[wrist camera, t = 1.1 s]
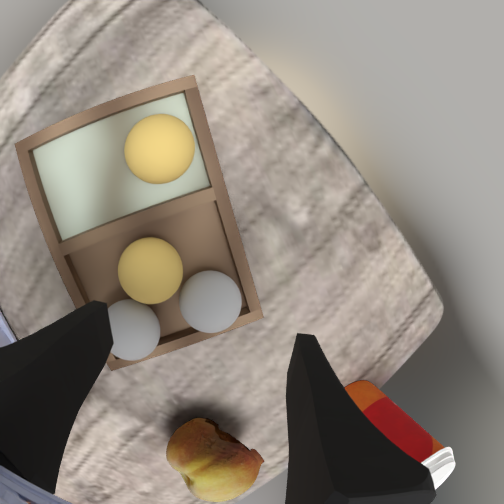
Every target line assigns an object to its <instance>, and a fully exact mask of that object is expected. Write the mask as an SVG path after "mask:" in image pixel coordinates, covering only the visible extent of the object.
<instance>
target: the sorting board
mask: <svg viewBox="0 0 504 504" xmlns="http://www.w3.org/2000/svg"><path fill="white" fill-rule="evenodd" d="M154 114H168V115H172V116H175V117H177V118H179V119H180V120H182V121H183V122H184V123H185V124H186V125H187V126H188V127H189V129H190V130H191V132H192V135H193V137H194V141H195V153H194V158H193V161H192V163H191V165H190V166H189V168H188V169H187V171H186V172H185V173H184V174H183V175H182V176H180V177H179V178H177V179H176V180H174V181H171V182H169V183H165V184H151V183H147V182H145V181H143V180H141V179H139V178H138V177H136V176H135V175H134V174H133V173H132V171H131V170H130V169H129V167H128V165H127V163H126V159H125V154H124V147H125V142H126V138H127V136H128V134H129V132H130V130H131V129H132V128H133V127H134V125H135V124H137V123H138V122H139V121H140V120H142V119H144V118H145V117H148V116H150V115H154ZM15 148H16V151H17V155H18V159H19V163H20V166H21V170H22V173H23V177H24V180H25V183H26V187H27V190H28V193H29V196H30V199H31V202H32V205H33V208H34V211H35V214H36V216H37V219H38V222H39V225H40V227H41V230H42V233H43V235H44V238H45V240H46V243H47V245H48V248H49V250H50V253H51V255H52V257H53V260H54V262H55V264H56V267H57V269H58V271H59V273H60V276H61V278H62V280H63V282H64V284H65V286H66V289H67V291H68V293H69V295H70V297H71V299H72V301H73V303H74V305H75V307H76V309H78V308H80V307H81V306H83V305H85V304H87V303H89V302H91V301H93V300H96V301H100V302H105V303H107V308H109V307H110V306H111V305H112V304H114V303H116V302H118V301H121V300H125V299H132V300H134V299H133V298H131V297H130V296H129V295H128V294H127V293H126V292H125V291H124V289H123V288H122V286H121V284H120V281H119V277H118V264H119V260H120V257H121V255H122V253H123V252H124V250H125V249H126V248H127V247H128V246H129V245H130V244H131V243H133V242H134V241H136V240H139V239H142V238H147V237H153V238H159V239H162V240H164V241H166V242H168V243H169V244H170V245H172V246H173V247H174V248H175V250H176V251H177V252H178V254H179V256H180V258H181V261H182V265H183V278H182V281H181V284H180V286H179V288H178V290H177V291H176V292H175V293H174V294H173V295H172V296H171V297H170V298H169V299H167V300H166V301H163V302H161V303H157V304H146V305H147V306H149V307H150V308H151V309H152V310H153V311H154V313H155V314H156V316H157V318H158V321H159V324H160V338H159V342H158V344H157V346H156V348H155V349H154V350H153V352H152V353H151V354H149V355H148V356H146V357H145V358H142V359H139V360H132V361H130V360H124V359H121V358H119V357H117V356H115V355H114V354H112V353H111V352H110V354H109V356H108V359H107V361H106V363H107V365H108V366H109V368H110V370H111V371H113V370H116V369H119V368H122V367H126V366H129V365H132V364H135V363H138V362H141V361H144V360H147V359H150V358H153V357H156V356H159V355H162V354H165V353H168V352H171V351H174V350H177V349H180V348H183V347H186V346H189V345H191V344H194V343H197V342H200V341H203V340H206V339H208V338H211V337H214V336H217V335H219V334H222V333H225V332H227V331H230V330H233V329H235V328H238V327H241V326H243V325H246V324H248V323H251V322H254V321H256V320H259V319H261V318H264V317H263V313H262V310H261V306H260V303H259V300H258V296H257V293H256V289H255V286H254V282H253V279H252V276H251V272H250V269H249V265H248V262H247V258H246V255H245V252H244V248H243V245H242V241H241V238H240V234H239V231H238V227H237V224H236V220H235V217H234V213H233V210H232V207H231V203H230V200H229V196H228V193H227V189H226V186H225V182H224V179H223V175H222V172H221V168H220V165H219V161H218V158H217V154H216V151H215V147H214V143H213V140H212V136H211V133H210V129H209V126H208V122H207V119H206V115H205V112H204V108H203V105H202V101H201V97H200V94H199V90H198V87H197V83H196V80H195V76H194V75H191V76H188V77H184V78H180V79H176V80H173V81H169V82H166V83H162V84H159V85H156V86H152V87H149V88H146V89H143V90H140V91H137V92H134V93H131V94H128V95H125V96H122V97H119V98H116V99H114V100H111V101H108V102H106V103H103V104H100V105H98V106H95V107H93V108H90V109H88V110H85V111H83V112H81V113H78V114H76V115H73V116H71V117H69V118H67V119H64V120H62V121H60V122H58V123H56V124H53V125H51V126H49V127H47V128H45V129H43V130H41V131H39V132H37V133H35V134H33V135H31V136H29V137H27V138H25V139H23V140H21V141H19V142H17V143H16V144H15ZM210 270H211V271H218V272H221V273H223V274H225V275H227V276H229V277H230V278H231V279H232V280H233V281H234V282H235V283H236V285H237V286H238V288H239V291H240V294H241V299H242V305H241V311H240V314H239V316H238V318H237V319H236V321H235V322H234V323H233V324H232V325H231V326H230V327H228V328H227V329H225V330H223V331H220V332H216V333H205V332H201V331H198V330H196V329H194V328H193V327H192V326H190V325H189V324H188V323H187V322H186V320H185V319H184V318H183V316H182V314H181V311H180V307H179V296H180V292H181V289H182V287H183V285H184V284H185V283H186V281H187V280H188V279H189V278H190V277H192V276H193V275H195V274H197V273H199V272H202V271H210ZM144 304H145V303H144Z"/></svg>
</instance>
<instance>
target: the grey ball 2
mask: <svg viewBox="0 0 504 504" xmlns="http://www.w3.org/2000/svg"><path fill="white" fill-rule="evenodd" d="M241 305H242V299H241V294H240V291H239V288H238V286H237V285H236V283H235V282H234V281H233V280H232V279H231V278H230V277H229V276H227V275H225V274H223V273H221V272H218V271H211V270H210V271H202V272H199V273H197V274H195V275H193V276H192V277H190V278H189V279H188V280H187V281H186V283H185V284H184V285H183V287H182V289H181V292H180V296H179V307H180V311H181V314H182V316H183V318H184V319H185V320H186V322H187V323H188V324H189V325H190V326H192V327H193V328H194V329H196V330H198V331H201V332H205V333H216V332H220V331H223V330H225V329H227V328H228V327H230V326H231V325H232V324H233V323H234V322H235V321H236V319H237V318H238V316H239V314H240V311H241Z"/></svg>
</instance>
